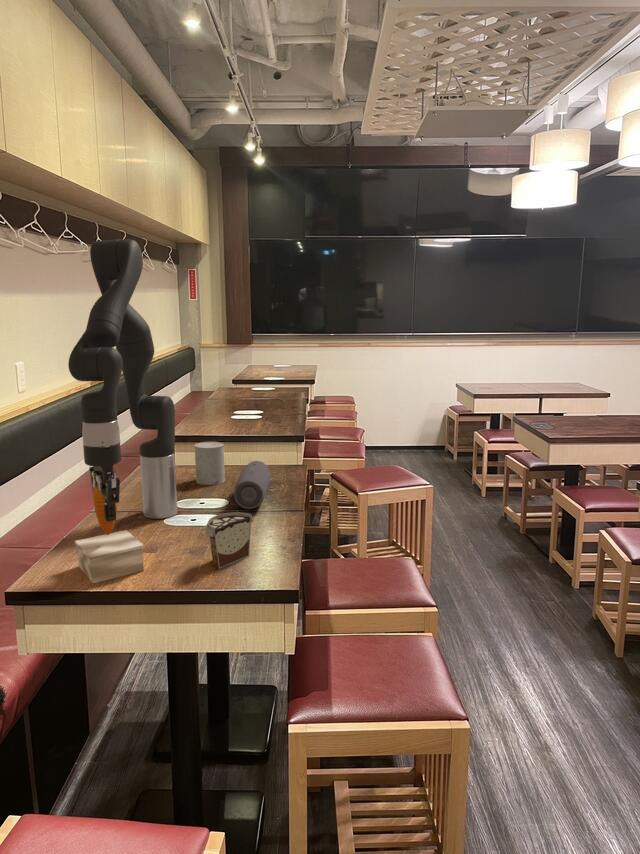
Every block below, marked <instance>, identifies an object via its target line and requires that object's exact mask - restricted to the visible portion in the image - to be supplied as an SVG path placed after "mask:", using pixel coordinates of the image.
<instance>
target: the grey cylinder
mask: <svg viewBox="0 0 640 854" xmlns="http://www.w3.org/2000/svg"><path fill="white" fill-rule="evenodd" d="M194 458H195V459H194V460H195V483H197V484H198V485H203V486H213V485H219V484H223V483H225V482H226V474H225V472H226V471H225V443H223V442H220V441H201V442H197V443H196V444H194Z"/></svg>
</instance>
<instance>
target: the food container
mask: <svg viewBox="0 0 640 854" xmlns="http://www.w3.org/2000/svg"><path fill="white" fill-rule="evenodd" d="M253 520H254V519H253V516H252V514H251V513H247V512H239V511H238V512H237V511H236V512H225V513H221V514H216V515H214V516H211V518H209V519H208V520H207V523H206V527H205V533H206V534H207V535H208V536H209V542H210V543H209V544H210V550H211V557H212V565H213V566H214V567H215V568H216V569H217V570H220V569H223V568H225V567H227V566H230V565H232V564H234V563H237V562H239V561H241V560H244V559H247V558H248V557H250V550H251V549H250V548H251V547H250V546H251V531H252V530H251V529H252V527H251V526H252V523H253V522H254V521H253Z"/></svg>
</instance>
